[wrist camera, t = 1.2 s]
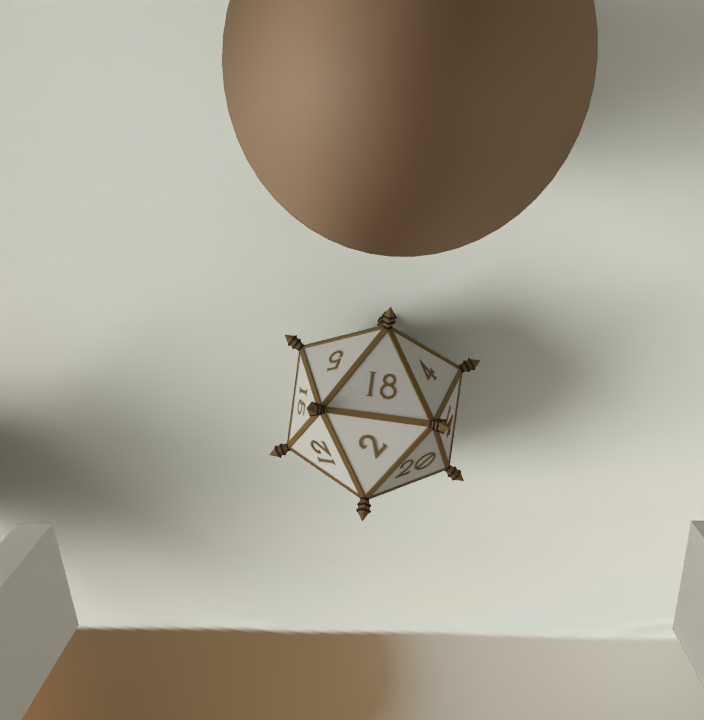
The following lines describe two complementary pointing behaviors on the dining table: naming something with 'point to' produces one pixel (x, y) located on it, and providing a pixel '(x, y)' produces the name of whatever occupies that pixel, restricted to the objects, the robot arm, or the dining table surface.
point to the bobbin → (407, 111)
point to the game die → (374, 410)
